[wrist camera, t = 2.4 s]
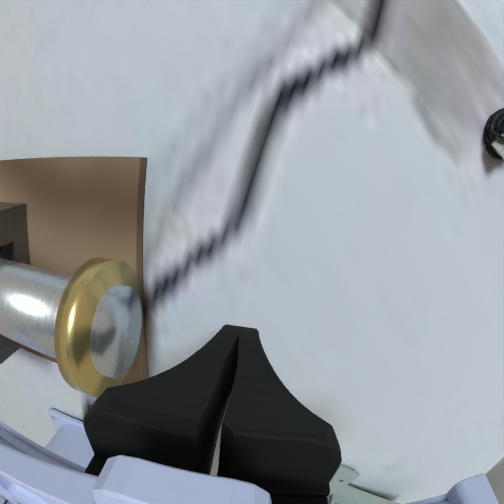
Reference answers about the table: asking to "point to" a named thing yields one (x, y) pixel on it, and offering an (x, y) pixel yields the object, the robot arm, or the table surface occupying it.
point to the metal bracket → (350, 490)
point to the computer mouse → (495, 135)
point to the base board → (82, 218)
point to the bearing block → (13, 252)
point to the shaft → (75, 318)
